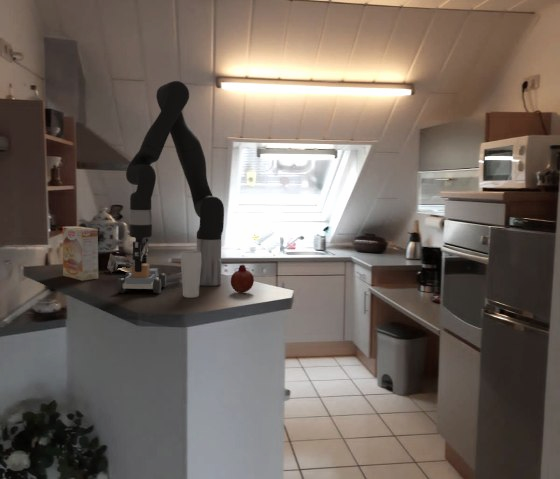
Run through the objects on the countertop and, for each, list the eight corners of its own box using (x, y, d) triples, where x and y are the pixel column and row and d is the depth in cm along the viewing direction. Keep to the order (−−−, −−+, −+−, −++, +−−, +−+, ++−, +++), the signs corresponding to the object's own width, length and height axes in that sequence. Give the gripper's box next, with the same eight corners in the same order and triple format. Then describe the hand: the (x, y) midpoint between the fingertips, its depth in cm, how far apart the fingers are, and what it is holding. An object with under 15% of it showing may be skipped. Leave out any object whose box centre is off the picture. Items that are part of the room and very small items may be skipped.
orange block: (149, 280, 187) (149, 263, 186) (146, 283, 182) (146, 265, 181) (135, 280, 187) (134, 263, 186) (131, 282, 182) (131, 265, 181)
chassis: (166, 285, 196) (166, 268, 195) (158, 294, 180) (158, 275, 179) (127, 285, 195) (127, 267, 195) (116, 294, 179) (116, 275, 179)
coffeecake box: (62, 275, 211) (61, 226, 209) (79, 273, 217) (78, 226, 215) (81, 280, 202) (81, 229, 200) (99, 278, 207) (98, 228, 205)
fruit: (248, 296, 181) (248, 267, 180) (226, 294, 184) (227, 265, 183) (257, 292, 189) (257, 264, 188) (236, 290, 192) (236, 262, 191)
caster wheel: (137, 278, 223) (114, 277, 217) (128, 269, 232) (105, 267, 225) (141, 263, 222) (118, 261, 216) (131, 255, 230) (109, 252, 224)
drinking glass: (191, 299, 174) (192, 254, 173) (176, 296, 178) (176, 252, 176) (205, 296, 180) (205, 252, 178) (190, 293, 183) (190, 250, 182)
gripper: (147, 224, 175) (147, 273, 177) (155, 221, 190) (155, 266, 191) (124, 224, 175) (124, 273, 177) (134, 221, 189) (134, 266, 191)
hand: (140, 269), depth 184 cm, fingers open, 8 cm apart
